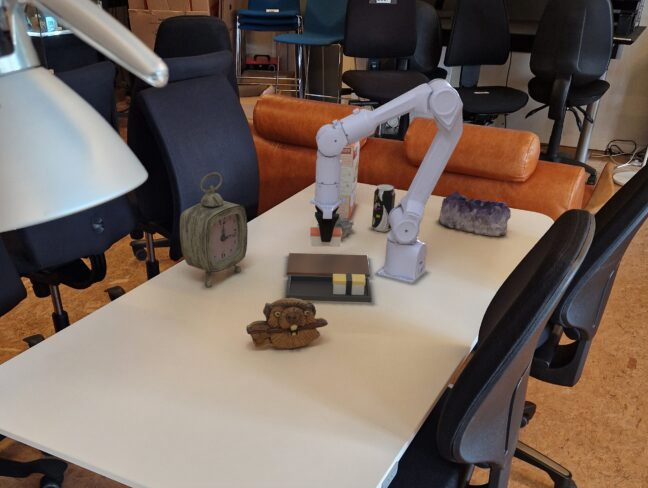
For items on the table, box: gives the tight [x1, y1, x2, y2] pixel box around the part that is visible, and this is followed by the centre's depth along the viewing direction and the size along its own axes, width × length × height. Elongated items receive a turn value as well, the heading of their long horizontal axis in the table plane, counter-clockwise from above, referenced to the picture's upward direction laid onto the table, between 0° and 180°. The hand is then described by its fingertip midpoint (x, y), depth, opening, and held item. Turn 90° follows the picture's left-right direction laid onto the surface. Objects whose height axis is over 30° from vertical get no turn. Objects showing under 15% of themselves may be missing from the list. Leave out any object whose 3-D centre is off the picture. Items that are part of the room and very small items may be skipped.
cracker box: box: [336, 140, 361, 220], centre depth 209 cm, size 14×6×21 cm, turn 168°
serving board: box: [286, 252, 371, 279], centre depth 179 cm, size 20×12×1 cm, turn 87°
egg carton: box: [316, 217, 355, 240], centre depth 198 cm, size 11×8×4 cm
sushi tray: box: [285, 275, 372, 303], centre depth 168 cm, size 19×11×2 cm, turn 87°
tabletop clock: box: [179, 172, 249, 288], centre depth 167 cm, size 14×9×25 cm, turn 143°
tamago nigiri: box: [333, 273, 366, 295], centre depth 167 cm, size 7×4×4 cm, turn 87°
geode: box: [437, 190, 512, 237], centre depth 201 cm, size 20×12×10 cm, turn 64°
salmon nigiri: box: [309, 226, 343, 248], centre depth 172 cm, size 7×4×3 cm, turn 88°
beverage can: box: [371, 183, 396, 233], centre depth 199 cm, size 6×6×12 cm
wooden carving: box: [245, 297, 329, 349], centre depth 144 cm, size 16×5×10 cm, turn 105°
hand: (325, 238), depth 172 cm, fingers closed on salmon nigiri, 4 cm apart
